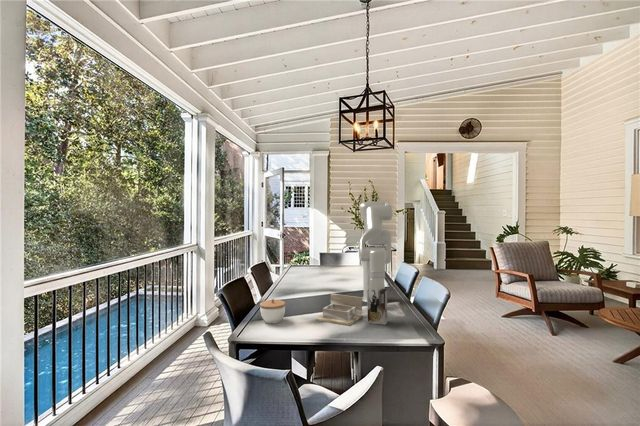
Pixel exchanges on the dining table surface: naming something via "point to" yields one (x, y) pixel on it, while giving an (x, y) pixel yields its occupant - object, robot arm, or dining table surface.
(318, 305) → the dining table surface
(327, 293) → the dining table surface
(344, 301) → the open wooden box
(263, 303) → the lidded bowl
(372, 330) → the dining table surface
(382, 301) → the coffee box
